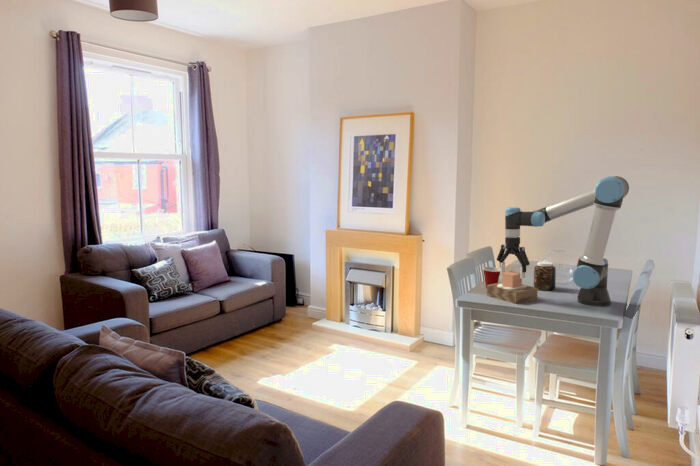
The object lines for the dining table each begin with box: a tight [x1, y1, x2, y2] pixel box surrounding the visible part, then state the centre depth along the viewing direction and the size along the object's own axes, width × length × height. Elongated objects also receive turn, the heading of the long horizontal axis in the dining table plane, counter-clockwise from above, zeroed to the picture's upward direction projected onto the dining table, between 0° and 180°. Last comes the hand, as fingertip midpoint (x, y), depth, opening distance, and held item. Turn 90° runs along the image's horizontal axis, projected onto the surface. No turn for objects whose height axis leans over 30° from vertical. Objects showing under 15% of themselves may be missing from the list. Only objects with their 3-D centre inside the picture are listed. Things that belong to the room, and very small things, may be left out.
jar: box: [533, 261, 557, 292], centre depth 279 cm, size 12×12×15 cm
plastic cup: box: [482, 266, 501, 290], centre depth 282 cm, size 11×11×12 cm
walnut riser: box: [486, 281, 538, 305], centre depth 262 cm, size 20×16×6 cm
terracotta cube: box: [501, 271, 523, 288], centre depth 261 cm, size 7×7×7 cm
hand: (512, 276), depth 261 cm, fingers open, 13 cm apart
